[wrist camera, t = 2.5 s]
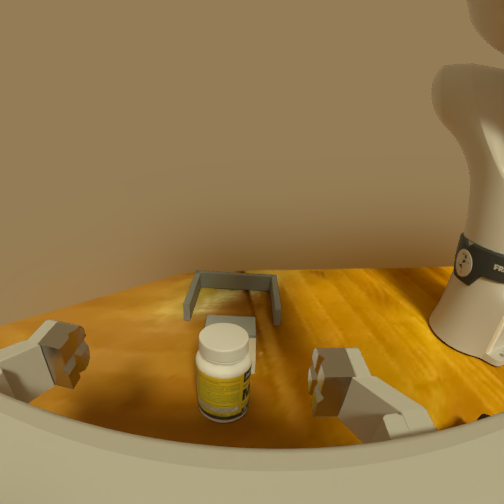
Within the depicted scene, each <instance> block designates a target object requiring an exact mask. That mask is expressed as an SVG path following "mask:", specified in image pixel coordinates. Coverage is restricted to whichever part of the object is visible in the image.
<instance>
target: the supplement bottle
mask: <svg viewBox="0 0 504 504" xmlns="http://www.w3.org/2000/svg"><path fill="white" fill-rule="evenodd" d="M195 361H196V379H197V395H198V406H199V409H200V411H201V413H202V414H203V415H204V416H205V417H206V418H208V419H210V420H212V421H215V422H220V423H227V422H232V421H235V420H238V419H240V418H241V417H242V416H243V415H244V414H245V413H246V411H247V409H248V404H249V390H250V378H251V366H252V359H251V355H250V353H249V335H248V333H247V332H246V330H245V329H243V328H242V327H240V326H238V325H235V324H231V323H216V324H211V325H209V326H207V327H205V328H204V329H202V331H201V332H200V334H199V350H198V352H197V354H196V358H195Z"/></svg>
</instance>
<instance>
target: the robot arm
mask: <svg viewBox="0 0 504 504" xmlns="http://www.w3.org/2000/svg"><path fill="white" fill-rule="evenodd" d="M467 3H468V8H469V13H470V18H471V22H472V24H473V26H474V28H475V29H476V31H477V32H478V33H479V35H480V36H481V37H482V38H483V39H484V40H485V41H487V43H489V44H490V45H491V46H492V47H494V48H495V49H497V50H498V51H500V52H501V53H503V54H504V0H467ZM432 102H433V105H434V109H435V111H436V113H437V116H438V117H439V119H440V121H441V122H442V123H443V124H444V126H445V127H446V128H447V129H448V130H449V131H450V132H451V133H452V134H453V135H454V137H455V138H456V140H457V141H458V143H459V145H460V146H461V148H462V150H463V152H464V155H465V158H466V160H467V164H468V168H469V174H470V198H469V206H468V214H467V219H466V225H465V230H464V233H462V234H461V236H460V240H459V243H458V247H457V251H456V255H455V263H454V269H453V272H452V274H451V276H450V279H449V281H448V284H447V286H446V288H445V290H444V293H443V295H442V297H441V299H440V300H439V302H438V304H437V306H436V307H435V309H434V310H433V312H432V313H431V315H430V317H429V323H430V326H431V328H432V330H433V331H434V333H435V334H436V335H437V336H438V337H439V338H440V339H441V340H442V341H444V342H445V343H446V344H448V345H449V346H451V347H453V348H455V349H456V350H459V351H461V352H463V353H466V354H469V355H472V356H475V357H478V358H481V359H483V360H485V361H486V362H488V363H490V364H492V365H494V366H502V365H504V69H499V68H494V67H488V66H483V65H478V64H453V65H444V66H443V67H442V68H441V69H440V70H439V71H438V73H437V74H436V76H435V78H434V81H433V84H432ZM85 337H86V335H85V331H84V328H83V327H82V326H79V325H74V324H70V323H65V322H59V321H55V320H51V319H49V320H46V321H45V322H44V323H43V324H42V325H41V326H40V327H39V328H38V330H37V331H36V332H35V333H34V334H33V335H32V336H31V337H30V338H29V339H28V340H27V341H21V342H19V343H16V344H13V345H11V346H8V347H6V348H3V349H0V504H504V412H501V413H499V414H496V415H493V416H490V417H486V418H483V419H480V420H477V421H473V422H470V423H466V424H463V425H459V426H455V427H452V428H448V429H444V430H439V431H437V430H436V428H435V426H434V424H433V422H432V420H431V418H430V416H429V414H428V412H427V410H426V408H424V407H423V406H421V405H419V404H418V403H416V402H415V401H413V400H412V399H410V398H408V397H407V396H405V395H404V394H402V393H401V392H399V391H398V390H396V389H394V388H393V387H391V386H390V385H388V384H387V383H385V382H384V381H382V380H381V379H379V378H378V377H376V376H371V374H370V372H369V370H368V367H367V365H366V363H365V361H364V359H363V356H362V354H361V352H360V350H359V348H358V347H343V348H315V349H314V351H313V355H312V360H313V365H312V366H311V367H310V368H309V373H308V391H309V394H310V395H312V400H311V406H312V411H313V416H314V417H320V416H338V418H339V419H340V420H341V421H342V422H343V423H344V424H345V425H346V426H347V427H348V428H349V429H350V430H351V431H352V432H353V433H354V434H355V435H356V436H357V437H358V438H359V439H360V440H361V441H362V442H363V443H364V444H356V445H346V446H334V447H319V448H293V449H266V448H239V447H224V446H212V445H202V444H193V443H185V442H178V441H171V440H164V439H158V438H152V437H146V436H141V435H136V434H131V433H126V432H122V431H117V430H113V429H108V428H104V427H100V426H96V425H93V424H89V423H85V422H82V421H78V420H75V419H71V418H68V417H65V416H62V415H59V414H56V413H53V412H50V411H47V410H44V409H41V408H38V407H35V406H33V405H30V404H27V403H29V402H30V401H32V400H33V399H35V398H37V397H38V396H40V395H41V394H43V393H44V392H46V391H47V390H49V389H50V388H52V387H53V386H55V385H58V386H62V387H66V388H70V389H74V387H75V386H76V384H77V382H78V381H79V379H80V374H79V373H80V372H82V371H84V370H85V369H86V368H87V366H88V364H89V359H90V351H89V347H88V345H87V344H86V343H85V341H84V338H85Z"/></svg>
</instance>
